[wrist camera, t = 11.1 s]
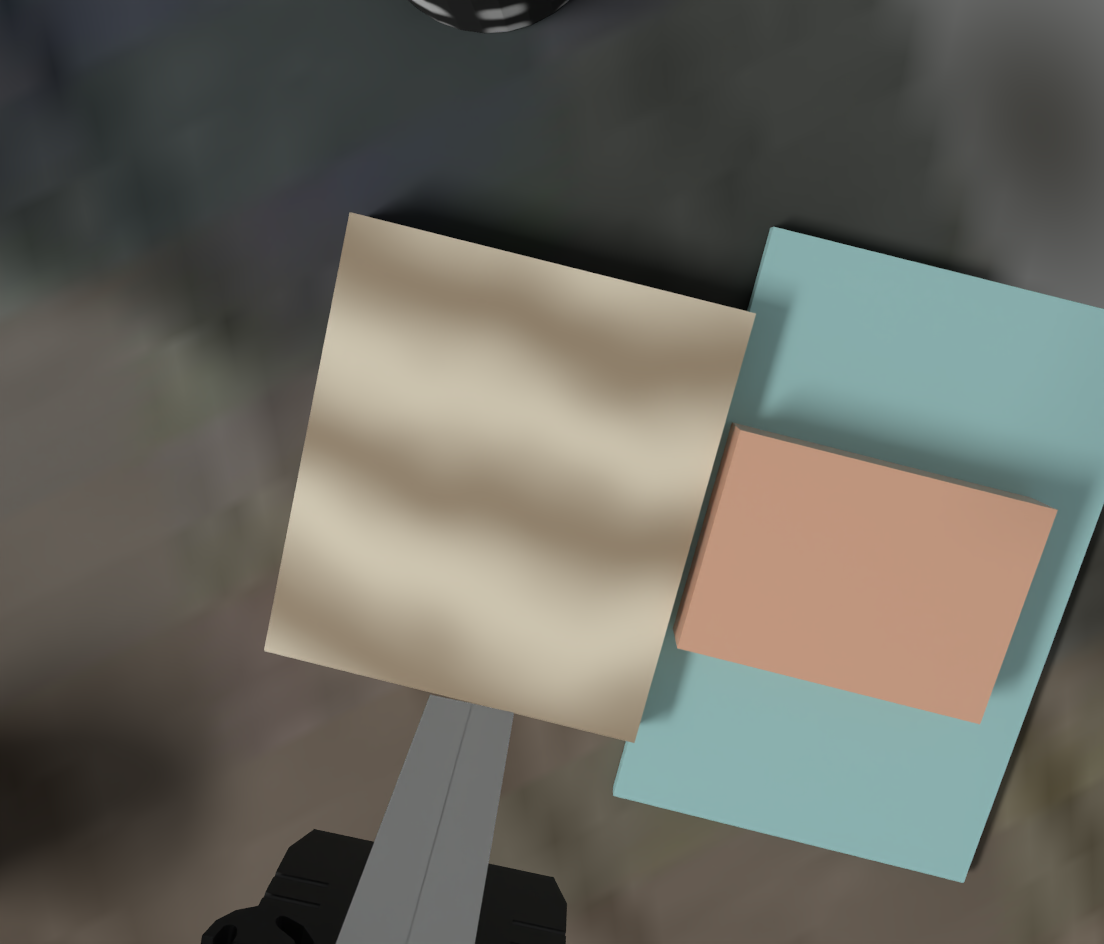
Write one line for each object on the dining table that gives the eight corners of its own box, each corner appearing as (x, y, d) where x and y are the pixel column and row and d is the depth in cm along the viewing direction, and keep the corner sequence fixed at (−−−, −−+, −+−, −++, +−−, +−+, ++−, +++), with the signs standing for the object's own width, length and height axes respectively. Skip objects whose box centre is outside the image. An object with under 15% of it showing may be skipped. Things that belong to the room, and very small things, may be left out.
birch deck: (364, 217, 33) (349, 212, 31) (746, 312, 33) (756, 313, 31) (281, 631, 36) (264, 650, 34) (632, 718, 36) (634, 743, 34)
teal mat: (770, 227, 33) (773, 226, 32) (1159, 324, 33) (1169, 325, 32) (612, 787, 37) (613, 795, 36) (957, 873, 37) (963, 882, 36)
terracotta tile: (731, 422, 33) (740, 430, 32) (1030, 497, 33) (1057, 509, 32) (672, 628, 35) (677, 648, 33) (958, 700, 35) (980, 724, 33)
